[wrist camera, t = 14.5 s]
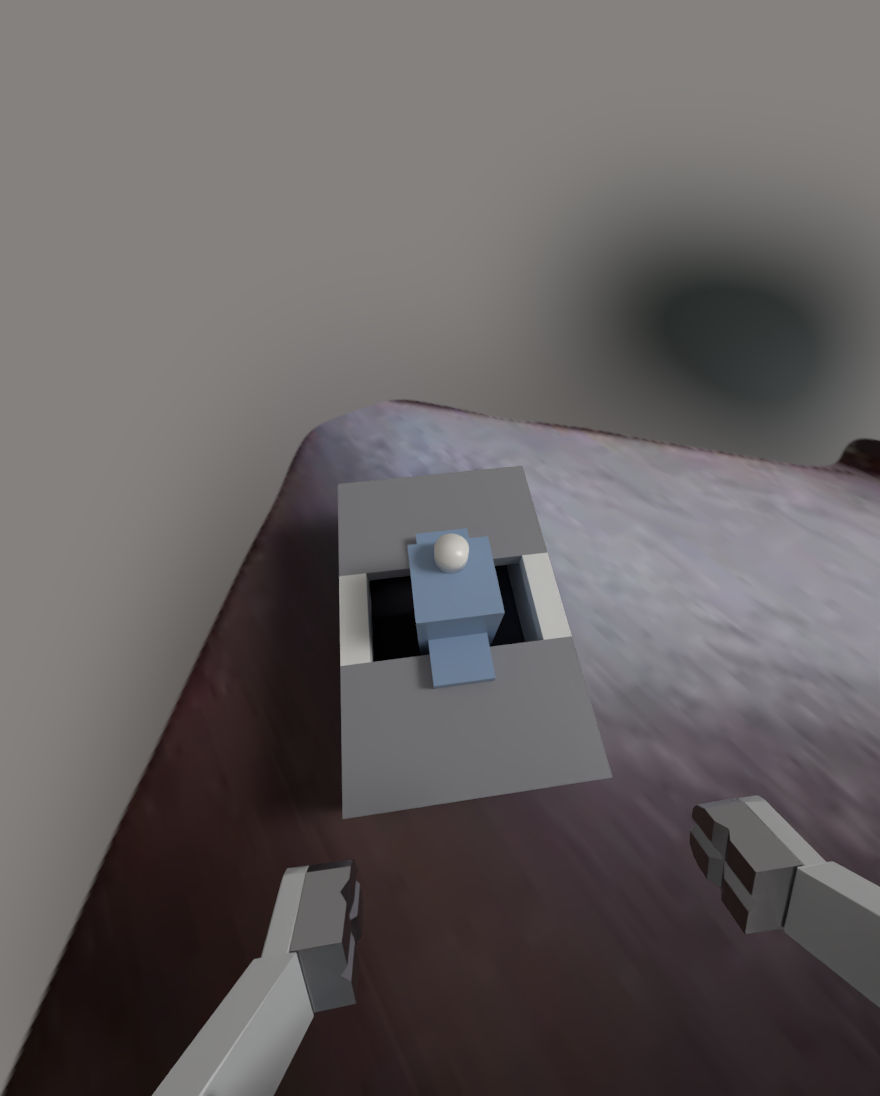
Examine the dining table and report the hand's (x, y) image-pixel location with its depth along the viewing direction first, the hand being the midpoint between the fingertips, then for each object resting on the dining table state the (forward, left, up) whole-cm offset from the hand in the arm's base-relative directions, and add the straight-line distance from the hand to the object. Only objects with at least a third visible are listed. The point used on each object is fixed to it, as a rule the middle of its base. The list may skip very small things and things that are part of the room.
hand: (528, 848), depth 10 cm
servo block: (0, -10, -14) cm, 17 cm away
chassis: (0, -10, -15) cm, 18 cm away
